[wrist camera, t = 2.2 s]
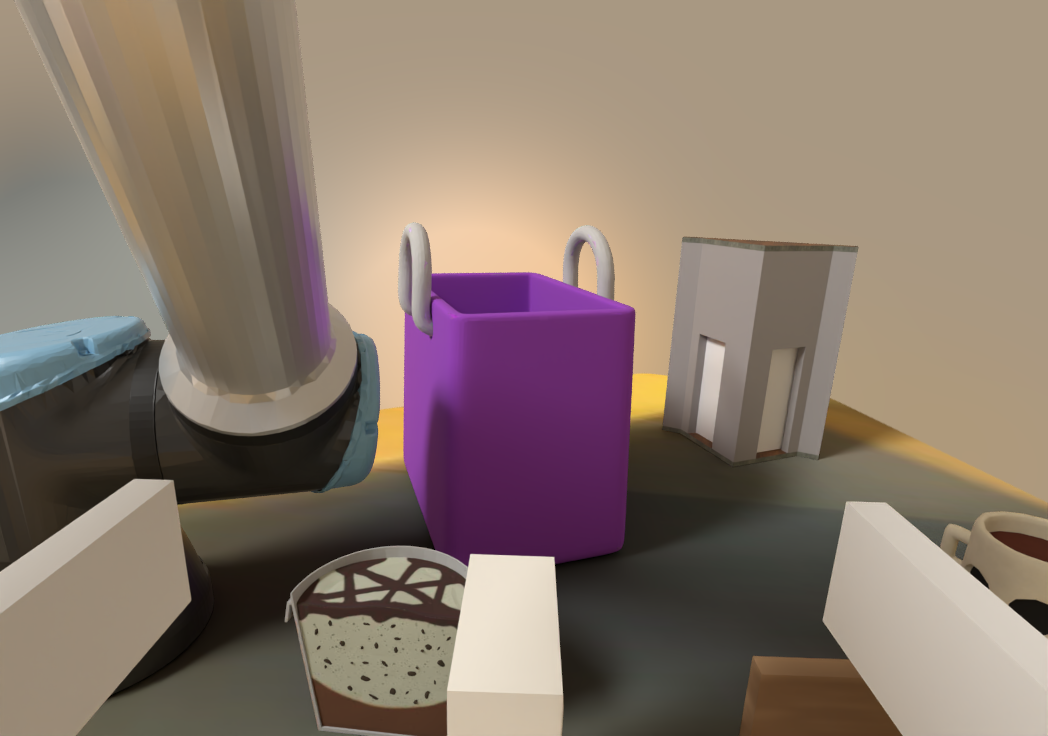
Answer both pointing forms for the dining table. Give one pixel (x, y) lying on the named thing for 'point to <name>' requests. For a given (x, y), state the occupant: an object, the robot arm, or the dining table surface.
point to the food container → (380, 639)
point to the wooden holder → (811, 700)
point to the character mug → (1007, 560)
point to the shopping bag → (517, 405)
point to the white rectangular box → (507, 650)
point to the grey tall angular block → (756, 345)
